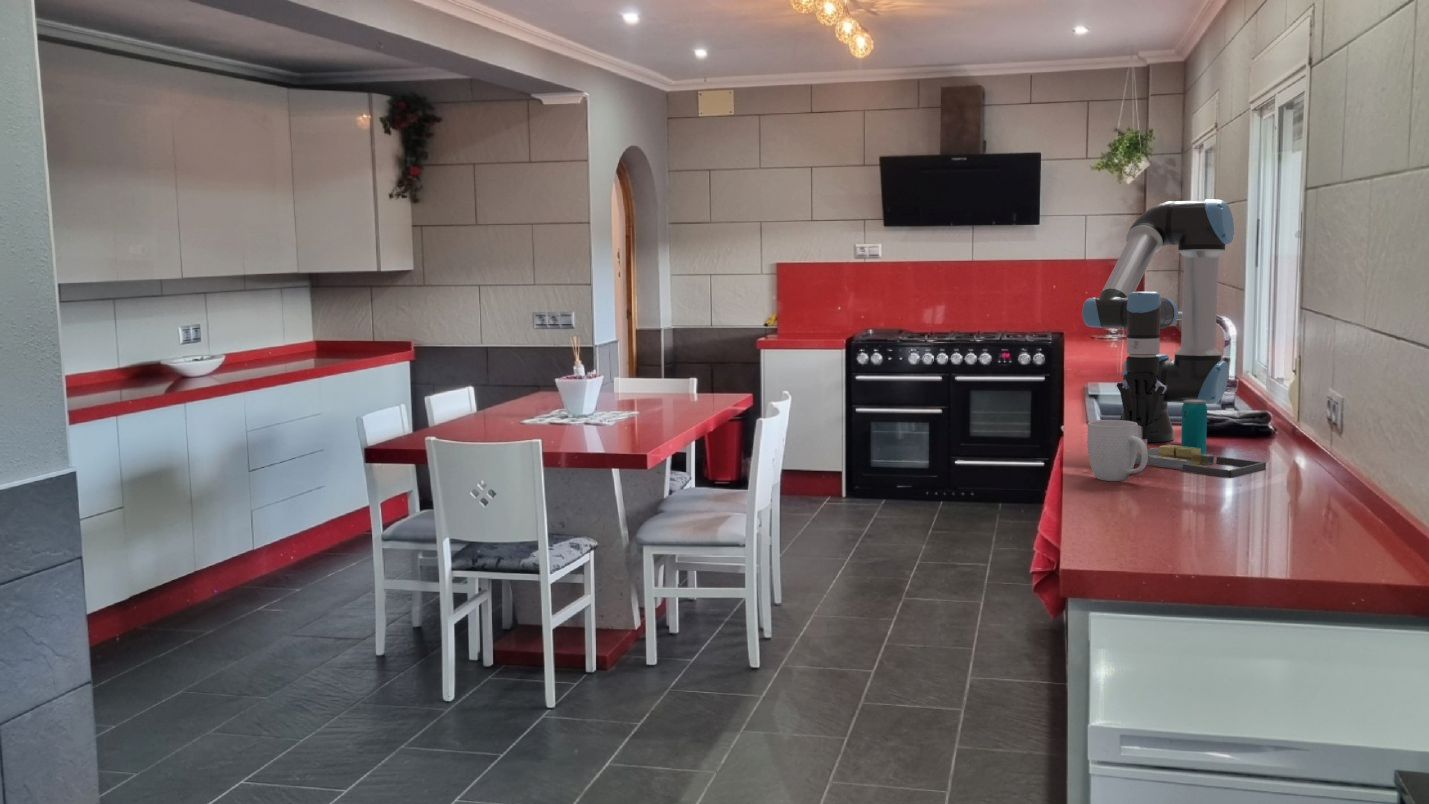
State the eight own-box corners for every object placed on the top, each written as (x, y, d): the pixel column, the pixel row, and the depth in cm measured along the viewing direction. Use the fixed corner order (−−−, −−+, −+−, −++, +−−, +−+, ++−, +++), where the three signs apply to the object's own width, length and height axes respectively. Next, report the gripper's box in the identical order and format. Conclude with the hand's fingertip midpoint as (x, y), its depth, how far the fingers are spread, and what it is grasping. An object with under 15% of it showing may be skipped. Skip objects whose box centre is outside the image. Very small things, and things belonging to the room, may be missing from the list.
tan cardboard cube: (1184, 463, 293) (1185, 446, 292) (1200, 465, 290) (1200, 448, 289) (1175, 465, 290) (1175, 448, 290) (1190, 467, 287) (1191, 450, 287)
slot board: (1153, 461, 304) (1153, 447, 304) (1213, 469, 292) (1213, 455, 291) (1124, 467, 297) (1125, 453, 296) (1185, 476, 284) (1185, 461, 284)
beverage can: (1201, 458, 307) (1203, 398, 305) (1208, 462, 301) (1210, 401, 299) (1178, 458, 307) (1179, 399, 306) (1184, 462, 302) (1185, 402, 300)
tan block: (1167, 460, 296) (1168, 444, 296) (1182, 462, 293) (1183, 446, 293) (1158, 462, 294) (1158, 446, 293) (1173, 464, 291) (1173, 448, 290)
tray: (1217, 468, 292) (1217, 456, 292) (1265, 475, 283) (1265, 462, 283) (1182, 477, 283) (1182, 464, 283) (1230, 484, 274) (1230, 470, 274)
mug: (1161, 481, 279) (1162, 424, 277) (1130, 487, 273) (1131, 429, 271) (1107, 472, 291) (1108, 418, 290) (1076, 478, 285) (1077, 422, 284)
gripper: (1110, 355, 300) (1108, 450, 302) (1158, 357, 289) (1156, 456, 292) (1128, 353, 304) (1126, 447, 307) (1175, 355, 294) (1173, 453, 297)
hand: (1141, 451), depth 300 cm, fingers closed
